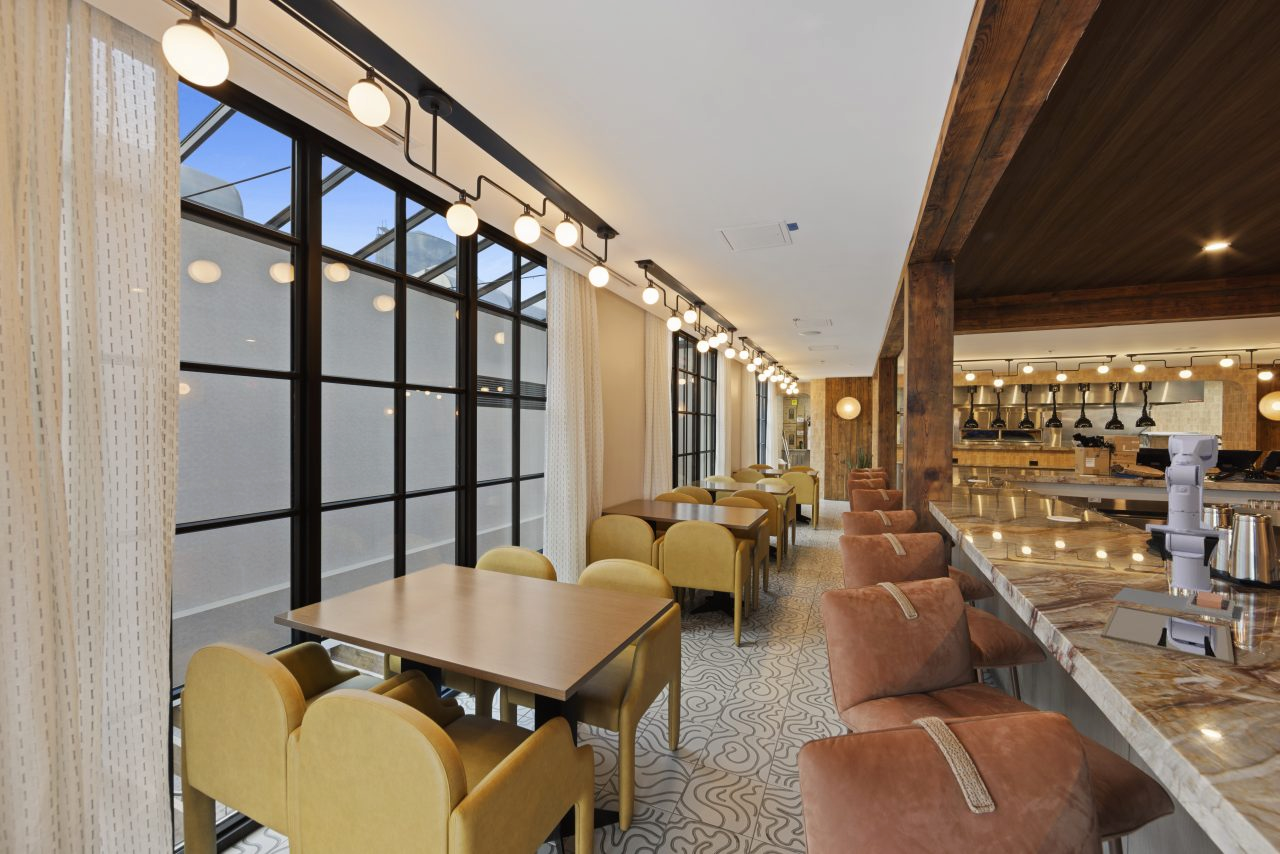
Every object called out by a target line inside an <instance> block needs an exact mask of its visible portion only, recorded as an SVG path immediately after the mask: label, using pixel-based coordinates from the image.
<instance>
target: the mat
mask: <svg viewBox="0 0 1280 854" xmlns="http://www.w3.org/2000/svg"><path fill="white" fill-rule="evenodd" d="M1188 599H1189V596H1188V597H1186V596H1181V595H1174V594H1168V593H1162V592H1157V591H1151V590H1144V589H1138V588H1131V587H1126V586H1124V587H1123V588H1122V589H1121V590H1120V591H1119V592H1118V593H1117V594H1116V595H1115V596H1114V597H1113V598H1112V600H1115V601H1121V602H1127V603H1128V602H1129V603H1132V604H1133V603H1134V604H1140V605H1144V606H1150V607H1156V608H1159V609H1160V608H1161V609H1167V610H1172V611H1178V612H1184V613H1189V614H1194V615H1199V616H1204V617H1205V616H1206V617H1211V618H1215V619H1222V620H1227V621H1232V622H1238V623H1239V622H1240V621H1241V617H1242V611H1243V607H1244V606H1241V605H1236V604H1235V609H1234V613H1233V617H1232V618H1226V617H1221V616H1215V615H1210V614H1204V613H1198V612H1193V611H1187V610H1186V602H1187V601H1188ZM1194 605H1197V601H1195V603H1194ZM1227 609H1228V606H1224V607H1223V610H1227Z"/></svg>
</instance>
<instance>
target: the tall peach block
mask: <svg viewBox="0 0 1280 854" xmlns="http://www.w3.org/2000/svg"><path fill="white" fill-rule="evenodd" d="M1197 595H1198V597H1197V605H1198V606H1204V607H1210V608H1216V609H1222V610H1223V607H1224V599H1225V598H1224V594H1221V593H1214V592H1211V593H1209V592H1202V591H1199V593H1198V594H1197Z"/></svg>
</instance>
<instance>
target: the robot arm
mask: <svg viewBox="0 0 1280 854" xmlns="http://www.w3.org/2000/svg"><path fill="white" fill-rule="evenodd" d="M1218 440H1219V439H1218V436H1216V435H1215V434H1212V435H1183V434H1182V435H1178V434H1177V435H1176V434H1171V435H1170V436H1169V437H1168V444H1167V445H1168V454H1169V458H1170V459H1169V460H1170V462H1171V464H1170V466H1166V468H1165V471H1164V472H1165V475H1164V477H1165V483H1166V492H1167V493H1168V524H1153V523H1146V524H1145V532H1146V533H1151V534H1150V536H1151V539H1153V541H1154V543H1155V545H1156V546H1157V548H1158V551H1159V555H1160V557H1161V561H1162V562H1166V561H1167V557H1168V555H1167V551H1168V553H1171V555H1172V581H1171V583H1170V584H1169V587H1170V588H1174V589H1175V588H1176V589H1181V590H1188V591H1194V592H1200V591H1202V592H1209V593H1213V590H1214V587H1215V586H1214V585H1213V584H1211V577H1210V576H1211V570H1210V569H1211V567H1210V566H1211V565H1210V564H1211V563H1210V561H1211V560H1210V559H1211V558H1214V557H1216V556H1217V551H1218V543H1219V541H1220V540H1224V541H1225V540H1226V537H1227V536H1226V530H1225V531H1224V530H1217V529H1216V530H1215V528H1214V527H1213V526H1211V525H1209V524H1208V523H1206V522H1204V521H1203V514H1204V491H1205V490H1204V489H1205V488H1204V487H1205V478H1206V474H1207V472H1208V470H1209V469H1212V468H1215V467H1217V463H1218V455H1219V441H1218Z"/></svg>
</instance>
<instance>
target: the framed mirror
mask: <svg viewBox="0 0 1280 854" xmlns="http://www.w3.org/2000/svg"><path fill="white" fill-rule="evenodd" d="M1230 628H1231V627H1230V624H1227V623H1220V622H1215V621H1212V620H1211V621H1209V620H1205V619H1199V618H1192V617H1188V616H1187V617H1186V616H1182V615H1176V614H1171V613H1164V612H1159V611H1152V610H1148V609H1147V610H1146V609H1141V608H1135V607H1131V606H1124V605H1120V604H1115V605H1114V607H1113V609H1112V610H1111V613H1110V615H1109V617H1108V619H1107V621H1106V622H1105V625H1104V627H1103V629H1102V631H1101V633H1100V638H1102V637H1103V639H1108V640H1114V641H1118V642H1121V641H1122V642H1123V643H1126V642H1128V643H1127V644H1131V643H1132V644H1131V645H1136V644H1137V646H1140V645H1142V646H1141V647H1145V646H1146V648H1150V647H1151V648H1150V649H1155V648H1156V650H1161V651H1164V650H1165V651H1166V652H1169V651H1170V653H1174V654H1179V655H1185V656H1189V657H1193V658H1197V657H1199V658H1198V659H1202V658H1204V659H1203V660H1207V659H1208V661H1212V660H1213V662H1216V661H1218V662H1217V663H1221V662H1222V664H1227V665H1231V664H1232V666H1235V658H1234V651H1233V643H1232V636H1231V629H1230Z"/></svg>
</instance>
